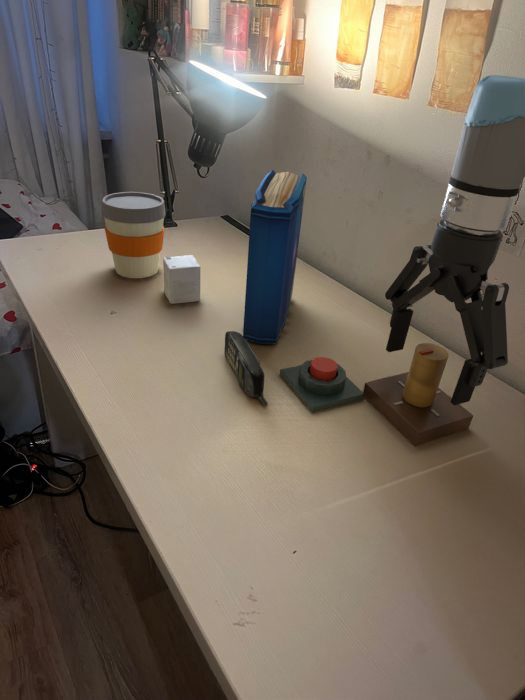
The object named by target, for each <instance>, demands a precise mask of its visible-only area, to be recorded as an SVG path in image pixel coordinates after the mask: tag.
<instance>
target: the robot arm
mask: <svg viewBox="0 0 525 700" xmlns="http://www.w3.org/2000/svg"><path fill="white" fill-rule="evenodd" d="M462 124H463V126H462V131H461V134H460V138H459V141H458V147H457V149H456V154H455V158H454V162H453V166H452V169H451V174H450V177H449V180H448V184H447V187H446V190H445V194H444V198H443V201H442V206H441V210H440V213H439V216H440V217H441V219H440V220H439V221H438V222H437V223H436V227H435V230H434V232H433V233H434V234H433V237H432V241H431V244H426V245H416V246H413V249H412V252H411V255H410V257H409V260H408V262H407V263H406V264H405V266H404V267H403V268H402V269H401V271H400V272H399V274H398V275H397V277H396V278H395V280H393V282H392V283H391V285H390V286H389V288H388V289H387V290H386V292H385V294H384V297H385V299H386V300H389V301H390V302H391V306H392V308H393V309H392V313H391V315H390V316H391V317H390V319H389V320H390V321H389V327H390V332H389V336H388V339H387V344H386V346H385V347H386V348H385V351H386V352H388V353H392V352H397V351H402V350H404V348H405V344H406V341H407V336H408V333H409V329H410V327H411V322H412V319H413V315H414V310H413V309H412V308H413V307H414V304H416V303H418V301H420V300H421V299H423V298H425V297H426V296H428V295H429V294H431V293H432V292H433V291H434V293H436V294H437V295H439V296H443V297H444V298H445V299H446V300H447V301H448V302H450V303H453V305H454V308H455V310H456V312H458V313H459V315H460V319H461V323H462V328H463V333H464V336H465V339H466V344H467V348H468V352H469V355H470V358H467V359H465V360H464V362H463V365H462V368H461V370H460V374H459V377H458V379H457V382H456V385H455V387H454V391H453V393H452V396H451V398H452V399H451V403H452V404H453V405H454V406H455V405H458V404H460V405H462V404H465V403H469V402H471V400H472V399H471V398H472V396H473V394H474V392H475V388H476V387H479V386H481V385H482V384H483V382H484V379H485V377H486V374H487V372H488V370H493V369H498V368H501V367H504V366H506V365H508V362H509V359H508V357H509V356H508V354H509V353H508V335H507V333H508V332H507V314H506V313H507V311H506V310H507V309H506V302H507V298H508V295H509V291H510V285H509V284H508V283H507V282H500V283H497V282H495V281H492V280H490V279H489V278H488V277H489V276H488V273H489V269H490V267H491V266H492V265H493V263H494V262H495V260H496V257H497V255H498V253H499V249H500V246H501V243H502V241H503V239H504V235H503V233H502V231H503V230H505V229H507V227H508V224H509V221H510V219H511V216H512V213H513V209H514V207H515V203H516V200H517V198H518V194H519V193H520V189H521V187H522V183H523V181H524V179H525V77H517V76H510V75H500V74H490V75H489V74H488V75H486V76H484V77H483V78H481V79H480V80H479V81H478V83H477V85H476V86H475V88H474V91H473V94H472V97H471V100H470V103H469V106H468V108H467V112H466V115H465V117H464V119H463V122H462ZM427 267H428V269H429V273H427V274H426V275H425V276H424V277H423V278H421V279H420V280H419V281H418V283H417V284H414V283H415V282H416V281H417V279H418V278H419V277H420V276H421V274H422V273H423V272H424V271H425V269H426V268H427ZM413 285H414V286H413ZM412 286H413V287H412ZM481 291H482V292H481ZM469 299H470V300H471V302H466V301H468V300H469ZM411 307H412V308H411Z"/></svg>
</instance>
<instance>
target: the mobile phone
mask: <svg viewBox="0 0 525 700" xmlns="http://www.w3.org/2000/svg"><path fill="white" fill-rule="evenodd" d="M224 336H225V337H224V356H225V357H226V359H227V362H228V363H229V364H230V366H231V368H232V370H233V372H234V373H235V375H236V379H237V380H238V384H239V386H240V388H241V389H242V390H243V392H245V394H247V396H249V397H250V398H258V400H260V402H261V404H262V405H263V406H264V407H267V406H268V404H269V403H268V401H267V400H266V398H265V397H264V387H265V372H264V371H263V367H262V366H261V362H260V361H261V360H260V359H259V358H258V357H257V355H256V352H254V351H253V349H252V348H251V345H250V344H249V341H248V340H246V339H245V338H244V337H243V333H240V332H238V331H234V330H231V331H225V335H224Z"/></svg>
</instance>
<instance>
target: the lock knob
mask: <svg viewBox="0 0 525 700" xmlns="http://www.w3.org/2000/svg"><path fill="white" fill-rule="evenodd" d="M449 357H450V355H449V352H448V351H447V350H446V349H445V348H444V347H442V346H440V345H438V344H435V343H429V342H422V343H419V344H417V345H416V346H415V348H414V352H413V356H412V359H411V363H410V366H409V370H408V372H409V373H408V376H407V380H406V383H405V387H404V390H403V398H404V399H405V401H406V402H408V403H409V404H411V405H413V406H416V407H429V406H431V405H432V404H433V402H434V399H435V396H436V393H437V390H438V388H440V383H441V380H442V377H443V374H444V371H445V368H446V365H447V363H448V359H449Z"/></svg>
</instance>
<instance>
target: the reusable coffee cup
mask: <svg viewBox="0 0 525 700" xmlns="http://www.w3.org/2000/svg"><path fill="white" fill-rule="evenodd" d="M101 202H102V203H101V205H102V206H101V215H102V217H103V218H104V222H105V225H104V233H105V237H106V241H107V247H108V250H109V251H110V252H111V255H112V260H113V263H114V269H115V273H117V274H118V276H120V277H124V278H128V279H145V278H150V277H152V276H154V275H156V274H157V273H158V271H159V267H160V257H161V252H162V250H163V247H164V238H165V229H166V228H165V226H164V221H165V217H166V215H167V213H166V206H165V199H164V198H163V197H161V196H159V195H157V194H153V193H148V192H143V191H142V192H141V191H123V192H120V191H119V192H114V193H109V194H107V195H104V197H102V199H101Z"/></svg>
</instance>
